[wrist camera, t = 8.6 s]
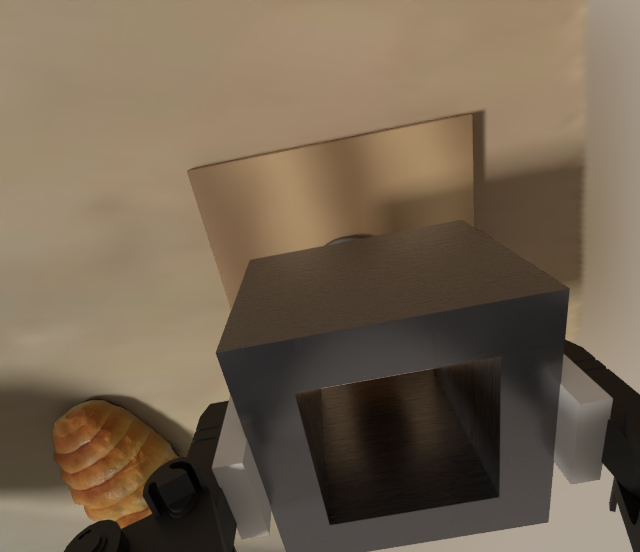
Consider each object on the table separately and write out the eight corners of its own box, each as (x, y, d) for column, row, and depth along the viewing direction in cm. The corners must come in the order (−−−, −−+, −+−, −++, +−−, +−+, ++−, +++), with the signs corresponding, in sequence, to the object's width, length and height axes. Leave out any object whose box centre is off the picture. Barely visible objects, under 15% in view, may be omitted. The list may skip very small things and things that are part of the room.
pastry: (39, 415, 25) (-3, 463, 22) (124, 378, 24) (95, 422, 21) (123, 499, 29) (99, 552, 25) (200, 469, 28) (186, 520, 24)
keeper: (259, 383, 25) (242, 496, 17) (192, 168, 19) (125, 201, 12) (470, 344, 24) (543, 444, 17) (463, 114, 19) (569, 113, 11)
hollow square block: (294, 420, 17) (290, 563, 12) (250, 259, 14) (216, 352, 8) (467, 389, 17) (548, 522, 11) (462, 219, 14) (569, 288, 8)
